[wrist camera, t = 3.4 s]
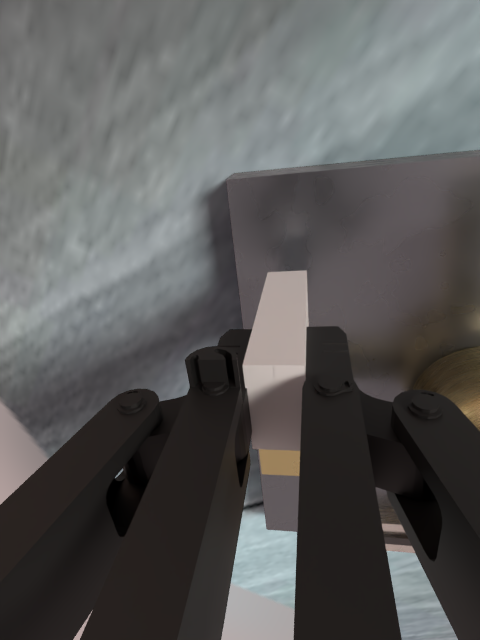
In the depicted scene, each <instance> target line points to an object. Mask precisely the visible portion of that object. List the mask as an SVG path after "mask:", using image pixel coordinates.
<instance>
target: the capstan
mask: <svg viewBox="0 0 480 640" xmlns="http://www.w3.org/2000/svg"><path fill="white" fill-rule="evenodd" d="M413 390H427V391H432V392H436V393H438V394H441V395H443V396H445V397H447V398H448V399H450V400H451V401H452V402H453V403H455V404H456V405H457V407H458V408H459V409H460V410H461V411H462V412H463V413H464V414H465V415H466V416H467V418H468V419H469V420H470V421H471V422H472V423H473V424H474V425H475V426H476V428H477V429H478V430H479V431H480V346H477V347H471V348H466V349H462V350H459V351H456V352H453V353H451V354H448V355H446V356H444V357H442V358H441V359H439V360H438V361H436V362H434V363H433V364H432V365H431V366H429V367H428V368H427V369H426V370H425V371H424V372H423V373H422V374H421V376H420V377H419V378H418V380H417V381H416V383H415V385H414V387H413ZM259 455H260V463H261V472H262V474H267V475H288V476H299V471H300V451H292V450H265V449H259Z"/></svg>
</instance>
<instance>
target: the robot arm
mask: <svg viewBox="0 0 480 640" xmlns="http://www.w3.org/2000/svg"><path fill="white" fill-rule="evenodd" d="M185 363H186V368H187V373H188V379H189V384H190V389H189V391H188V393H187V395H185V396H183V397H179V398H175V399H170V400H165V401H160V402H159V398H158V396H157V394H156V393H155V392H154V391H151V390H148V389H134V390H129V391H126V392H124V393H122V394H119V395H118V396H116V397H115V398H114V399H112V400H111V401H110V402H109V403H108V404H107V405H105V406H104V407H103V408H102V409H101V410H100V411H99V412H98V413H97V414H96V415H95V416H94V417H93V418H92V419H91V420H90V421H89V422H88V423H86V424H85V425H84V426H83V427H82V428H81V429H80V430H79V431H78V432H77V433H76V434H75V435H74V436H73V437H72V438H71V439H70V440H68V441H67V442H66V443H65V444H64V445H63V446H62V447H61V448H60V449H59V450H58V451H57V452H56V453H55V454H54V455H53V456H52V457H50V458H49V459H48V460H47V461H46V462H45V463H44V464H43V465H42V466H41V467H40V468H39V469H38V470H37V471H36V472H35V473H34V474H33V475H31V476H30V477H29V478H28V479H27V480H26V481H25V482H24V483H23V484H22V485H21V486H20V487H19V488H18V489H17V490H16V491H15V492H14V493H12V494H11V495H10V496H9V497H8V498H7V499H6V500H5V501H4V502H3V503H2V504H1V505H0V640H73V639H74V637H75V636H76V634H77V633H78V631H79V630H80V628H81V627H82V625H83V624H84V622H85V620H86V619H87V617H88V616H89V614H90V613H91V611H92V610H93V611H92V613H91V616H90V618H89V620H88V622H87V625H86V627H85V629H84V631H83V634H82V636H81V638H80V640H221V636H222V630H223V624H224V619H225V613H226V607H227V601H228V595H229V588H230V583H231V577H232V571H233V565H234V559H235V553H236V547H237V541H238V535H239V530H240V524H241V518H242V512H243V506H244V500H245V494H246V488H247V482H248V476H249V470H250V455H249V445H250V440H252V448H253V449H265V450H292V451H300V471H299V501H298V530H297V559H296V588H295V618H294V640H402V639H401V633H400V628H399V622H398V616H397V610H396V604H395V598H394V592H393V587H392V581H391V575H390V569H389V563H388V557H387V552H386V546H385V540H384V534H383V528H382V522H381V516H380V511H379V505H378V499H377V493H376V487H377V488H380V489H383V490H386V492H387V496H388V499H389V501H390V503H391V505H392V507H393V509H394V511H395V513H396V515H397V517H398V519H399V521H400V523H401V525H402V527H403V529H404V531H405V533H406V535H407V537H408V539H409V541H410V543H411V545H412V547H413V549H414V551H415V553H416V555H417V557H418V559H419V561H420V563H421V565H422V567H423V569H424V571H425V573H426V575H427V577H428V579H429V581H430V583H431V585H432V587H433V589H434V591H435V593H436V595H437V597H438V599H439V601H440V604H441V606H442V608H443V610H444V612H445V614H446V616H447V618H448V620H449V622H450V624H451V626H452V628H453V630H454V632H455V634H456V636H457V638H458V640H480V431H479V430H478V429H477V428H476V426H475V425H474V424H473V423H472V422H471V421H470V420H469V419H468V418H467V416H466V415H465V414H464V413H463V412H462V411H461V410H460V409H459V408H458V407H457V405H456V404H455V403H453V402H452V401H451V400H450V399H448V398H447V397H445V396H443V395H441V394H438V393H436V392H432V391H427V390H408V391H405V392H401V393H400V394H399V395H397V396H396V397H395V398H394V401H393V402H389V401H385V400H381V399H377V398H374V397H371V396H369V395H367V394H365V393H364V392H362V391H361V390H360V389H359V388H358V386H357V384H356V382H355V381H354V379H353V373H352V366H351V360H350V354H349V348H348V342H347V336H346V333H345V332H344V331H343V330H342V329H341V328H340V327H339V326H320V327H309V323H308V293H307V270H304V271H282V272H268V273H267V277H266V280H265V284H264V288H263V292H262V295H261V299H260V303H259V306H258V310H257V314H256V317H255V321H254V325H253V328H252V329H230V330H229V331H228V332H226V333H225V334H224V335H223V336H222V337H221V338H220V341H219V343H218V345H217V346H213V347H205V348H202V349H199V350H196V351H195V352H193V353H191V354H190V355H189V356H188V357H187V358H186V359H185ZM122 468H123V471H122V473H121V474H120V475H119V476H118V477H117V478H115V476H116V475H117V474H118V473H119V472H120V470H121V469H122Z"/></svg>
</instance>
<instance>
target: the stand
mask: <svg viewBox="0 0 480 640" xmlns="http://www.w3.org/2000/svg"><path fill="white" fill-rule="evenodd" d="M226 185H227V193H228V202H229V210H230V219H231V227H232V236H233V245H234V253H235V262H236V270H237V279H238V287H239V296H240V305H241V313H242V322H243V329H252V328H253V325H254V321H255V317H256V314H257V310H258V306H259V303H260V299H261V295H262V292H263V288H264V284H265V280H266V277H267V273H268V272H282V271H304V270H307V293H308V323H309V327H320V326H339V327H340V328H341V329H342V330H343V331H344V332H345V333H346V336H347V342H348V348H349V354H350V360H351V366H352V373H353V379H354V381H355V382H356V384H357V386H358V388H359V389H360V390H361V391H362V392H364V393H365V394H367V395H369V396H371V397H374V398H377V399H381V400H385V401H389V402H393V401H394V398H395V397H396V396H397V395H399V394H400V393H401V392H405V391H408V390H413V387H414V385H415V383H416V381H417V380H418V378H419V377H420V376H421V374H422V373H423V372H424V371H425V370H426V369H427V368H428V367H429V366H431V365H432V364H433V363H434V362H436V361H438V360H439V359H441V358H442V357H444V356H446V355H448V354H451V353H453V352H456V351H459V350H462V349H466V348H471V347H477V346H480V150H474V151H464V152H453V153H443V154H432V155H421V156H411V157H400V158H390V159H379V160H369V161H358V162H348V163H337V164H327V165H316V166H306V167H295V168H285V169H274V170H263V171H253V172H242V173H234V174H233V175H231V176H230V177H229V178H227V179H226ZM257 450H258V459H259V468H260V476H261V485H262V493H263V502H264V510H265V519H266V528H267V529H268V530H282V531H295V532H297V530H298V501H299V476H288V475H267V474H262V472H261V463H260V455H259V449H257ZM376 493H377V499H378V505H379V511H380V516H381V522H382V528H383V534H384V540H385V546H386V551H398V552H410V553H415V551H414V549H413V547H412V545H411V543H410V541H409V539H408V537H407V535H406V533H405V531H404V529H403V527H402V525H401V523H400V521H399V519H398V517H397V515H396V513H395V511H394V509H393V507H392V505H391V503H390V501H389V499H388V496H387V492H386V490H383V489H380V488H377V487H376Z"/></svg>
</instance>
